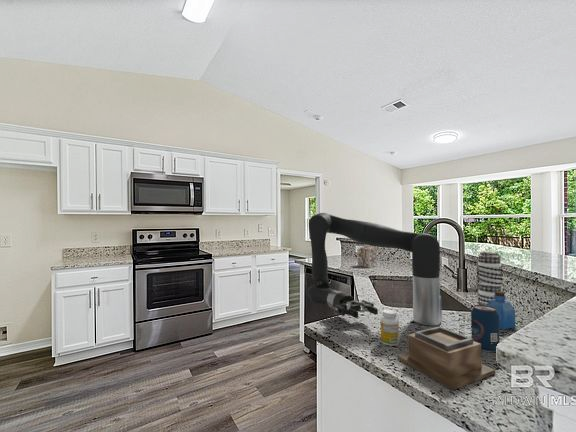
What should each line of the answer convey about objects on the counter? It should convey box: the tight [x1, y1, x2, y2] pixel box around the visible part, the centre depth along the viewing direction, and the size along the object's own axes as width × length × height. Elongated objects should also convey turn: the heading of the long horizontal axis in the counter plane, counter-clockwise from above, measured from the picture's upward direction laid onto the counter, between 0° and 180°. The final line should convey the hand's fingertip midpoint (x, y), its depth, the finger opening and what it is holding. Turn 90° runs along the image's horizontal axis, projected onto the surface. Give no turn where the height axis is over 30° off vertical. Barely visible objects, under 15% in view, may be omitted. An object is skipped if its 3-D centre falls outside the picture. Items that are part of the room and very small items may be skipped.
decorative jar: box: [357, 244, 378, 268], centre depth 239 cm, size 12×12×18 cm
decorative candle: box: [476, 250, 504, 306], centre depth 118 cm, size 9×9×25 cm
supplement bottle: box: [380, 309, 400, 347], centre depth 89 cm, size 5×5×10 cm
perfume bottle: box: [487, 290, 516, 330], centre depth 103 cm, size 6×6×12 cm
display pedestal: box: [397, 325, 496, 391], centre depth 74 cm, size 16×16×8 cm
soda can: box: [470, 304, 501, 353], centre depth 85 cm, size 7×7×12 cm
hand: (367, 313), depth 99 cm, fingers open, 8 cm apart
